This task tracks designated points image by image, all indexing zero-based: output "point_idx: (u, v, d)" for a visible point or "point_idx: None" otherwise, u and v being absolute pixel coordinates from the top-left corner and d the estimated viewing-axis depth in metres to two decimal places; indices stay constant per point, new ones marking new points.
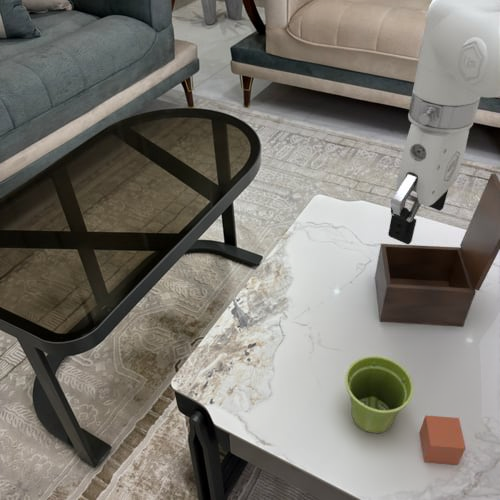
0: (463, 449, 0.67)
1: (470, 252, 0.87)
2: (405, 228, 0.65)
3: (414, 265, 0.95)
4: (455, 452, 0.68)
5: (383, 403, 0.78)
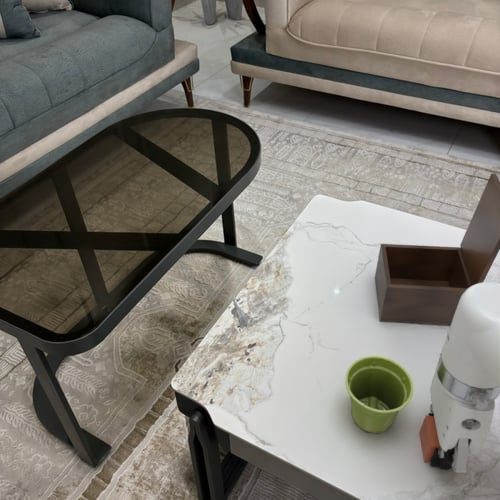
0: None
1: (470, 252, 0.87)
2: None
3: (414, 265, 0.95)
4: None
5: (383, 403, 0.78)
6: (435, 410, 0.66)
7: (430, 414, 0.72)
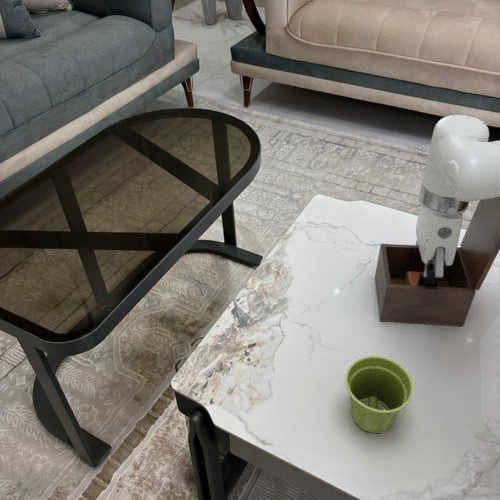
0: None
1: (470, 252, 0.87)
2: None
3: None
4: None
5: (383, 403, 0.78)
6: (419, 237, 0.85)
7: (416, 248, 0.91)
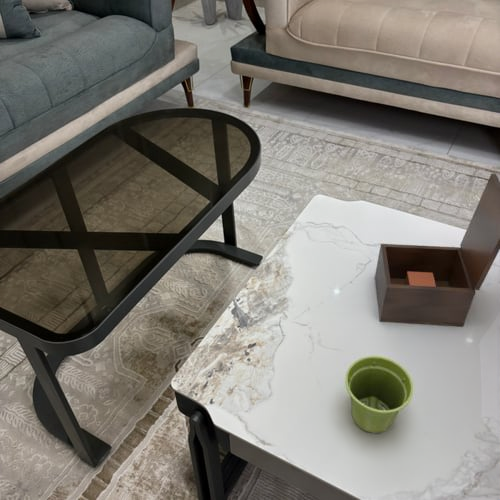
0: None
1: (470, 252, 0.87)
2: None
3: (414, 265, 0.95)
4: None
5: (383, 403, 0.78)
6: None
7: None
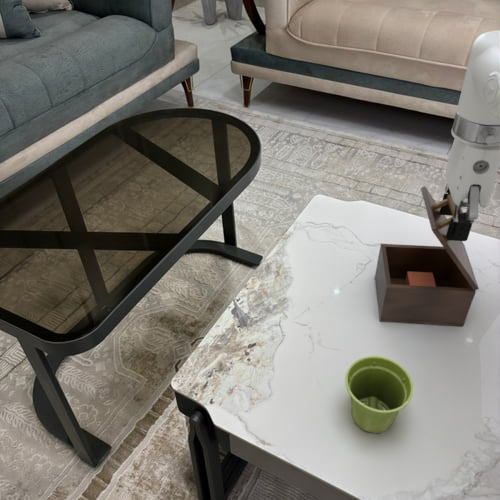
0: None
1: None
2: None
3: (414, 265, 0.95)
4: None
5: (383, 403, 0.78)
6: (450, 178, 0.77)
7: (445, 194, 0.83)
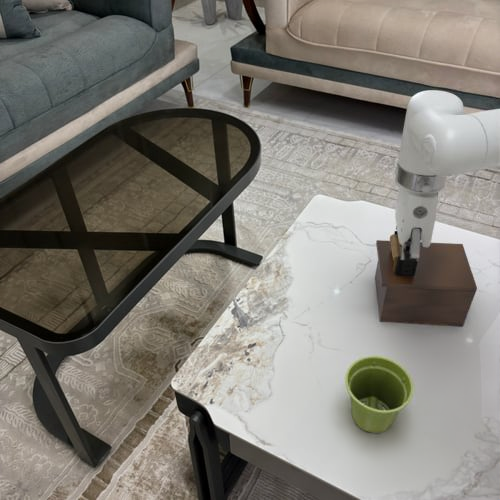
0: None
1: None
2: None
3: None
4: None
5: (383, 403, 0.78)
6: None
7: (395, 231, 0.89)
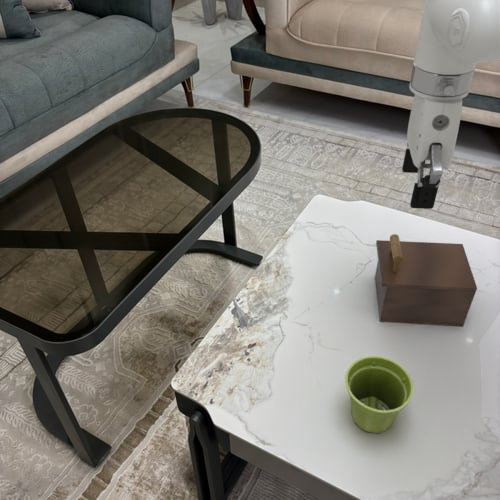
0: None
1: None
2: None
3: None
4: None
5: (383, 403, 0.78)
6: (410, 139, 0.71)
7: (407, 149, 0.78)
